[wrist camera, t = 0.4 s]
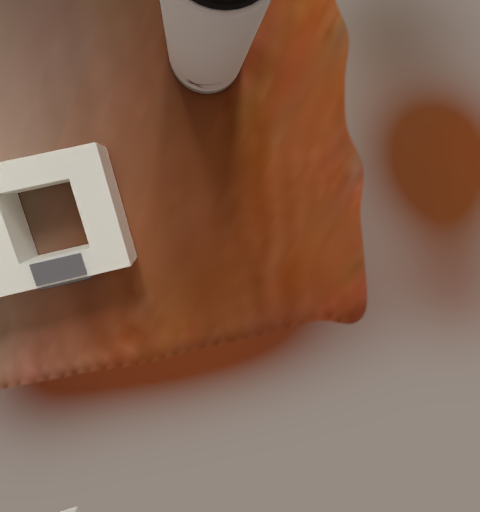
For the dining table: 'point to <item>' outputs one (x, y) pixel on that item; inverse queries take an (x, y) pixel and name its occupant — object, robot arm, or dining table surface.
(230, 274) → the dining table surface
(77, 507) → the robot arm
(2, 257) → the socket board
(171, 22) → the travel mug
